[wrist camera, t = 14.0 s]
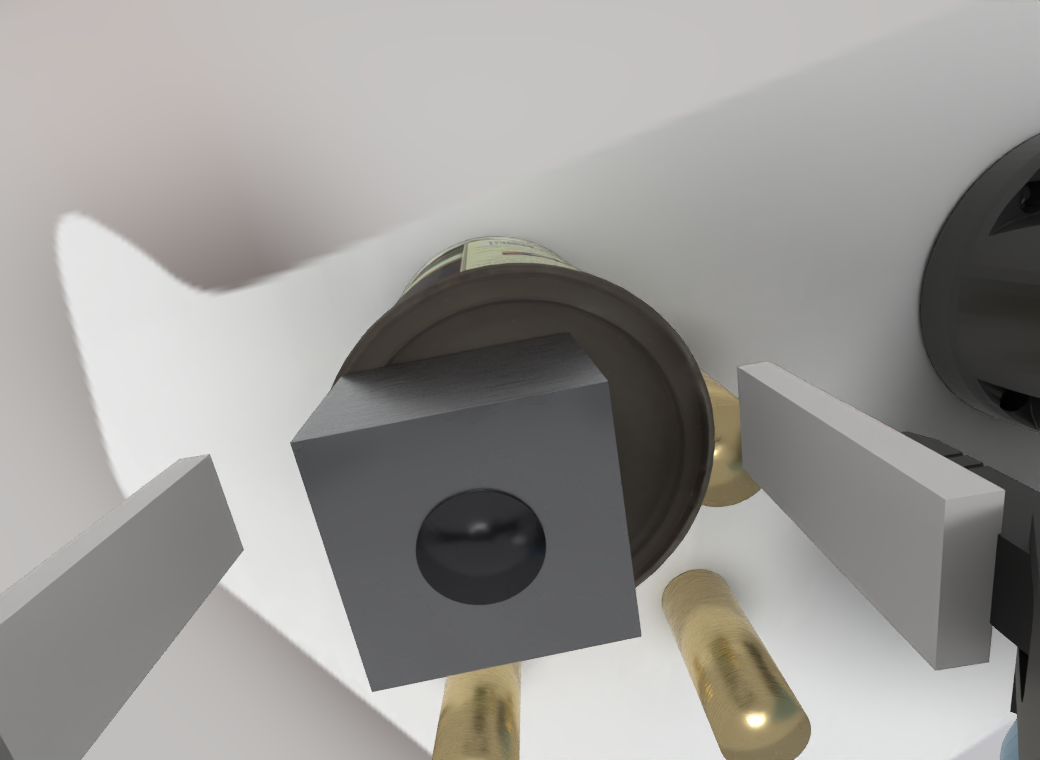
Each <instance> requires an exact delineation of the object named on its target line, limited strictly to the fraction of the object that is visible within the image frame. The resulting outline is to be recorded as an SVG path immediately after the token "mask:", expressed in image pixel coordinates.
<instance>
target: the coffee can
mask: <svg viewBox="0 0 1040 760" xmlns="http://www.w3.org/2000/svg"><path fill="white" fill-rule="evenodd" d="M566 332H569V333H570V334H571V335H572V336H573V338H574V339H575V340H576V341H577V343H578V344H579V345H580V346H581V348H582V349H583V350H584V351H585V353H586V354H587V355H588V357H589V358H590V359H591V360H592V362H593V363H594V364H595V365H596V367H597V368H598V369H599V370H600V372H601V373H602V374H603V376H604V377H605V378H606V379H607V381H608V384H609V392H610V399H611V407H612V415H613V422H614V430H615V437H616V445H617V453H618V460H619V468H620V476H621V483H622V491H623V499H624V506H625V514H626V521H627V529H628V537H629V544H630V552H631V560H632V567H633V575H634V583H635V588H636V587H637V586H638V585H639V584H641V583H642V582H643V581H645V580H646V579H647V578H648V577H649V576H650V575H652V574H653V573H654V572H655V571H656V570H657V569H658V568H659V567H660V566H661V565H662V564H663V563H664V562H665V561H666V559H667V558H668V557H669V556H670V555H671V554H672V553H673V552H674V550H675V549H676V548H677V546H678V545H679V544H680V543H681V541H682V540H683V539H684V537H685V535H686V534H687V532H688V531H689V529H690V527H691V525H692V523H693V522H694V520H695V518H696V516H697V514H698V512H699V509H700V507H701V505H702V502H703V500H704V497H705V495H706V491H707V488H708V485H709V481H710V476H711V472H712V467H713V459H714V450H715V439H714V438H715V426H714V417H713V409H712V404H711V400H710V396H709V392H708V389H707V386H706V383H705V380H704V378H703V376H702V373H701V371H700V369H699V367H698V365H697V363H696V361H695V359H694V357H693V355H692V354H691V352H690V350H689V349H688V347H687V346H686V344H685V343H684V341H683V340H682V339H681V337H680V336H679V334H678V333H677V332H676V331H675V330H674V329H673V328H672V327H671V325H670V324H669V323H668V322H667V321H666V320H665V319H664V318H662V317H661V316H660V315H659V314H658V313H657V312H656V311H655V310H654V309H653V308H652V307H650V306H649V305H648V304H646V303H645V302H643V301H642V300H641V299H639V298H638V297H636V296H634V295H633V294H631V293H630V292H628V291H626V290H625V289H623V288H621V287H619V286H617V285H615V284H613V283H611V282H608V281H606V280H604V279H601V278H599V277H596V276H593V275H591V274H588V273H584V272H581V271H579V270H578V269H576V268H574V267H572V266H571V265H569V264H567V263H566V262H565V261H563V260H562V259H561V258H560V257H559V256H557V255H556V254H554V253H553V252H551V251H550V250H548V249H545V248H543V247H541V246H539V245H537V244H534V243H532V242H528V241H525V240H522V239H517V238H511V237H482V238H476V239H471V240H466V241H463V242H461V243H458V244H456V245H454V246H451V247H449V248H447V249H446V250H444V251H442V252H441V253H439V254H438V255H436V256H435V257H433V258H432V259H431V260H430V261H428V262H427V263H426V264H425V265H424V266H423V267H422V268H421V269H420V270H419V271H418V272H417V274H416V275H415V276H414V277H413V278H412V280H411V281H410V283H409V284H408V286H407V287H406V289H405V291H404V293H403V295H402V296H401V297H400V299H399V300H398V302H397V303H396V304H395V305H394V307H392V308H391V309H390V310H389V311H387V312H386V313H385V314H384V315H383V316H382V317H381V318H380V319H379V320H377V321H376V322H375V323H374V324H373V325H372V326H371V327H370V328H369V329H368V330H367V332H366V333H365V334H364V335H363V336H362V337H361V339H360V340H359V342H358V343H357V344H356V346H355V347H354V348H353V350H352V351H351V353H350V354H349V356H348V357H347V358H346V360H345V362H344V363H343V365H342V367H341V369H340V371H339V373H338V375H337V377H336V379H335V381H334V383H333V386H334V385H335V384H336V383H337V381H338V380H339V379H340V377H341V376H342V375H345V374H350V373H356V372H361V371H366V370H371V369H377V368H382V367H387V366H393V365H398V364H403V363H408V362H414V361H419V360H424V359H429V358H435V357H440V356H445V355H451V354H456V353H461V352H466V351H472V350H477V349H482V348H487V347H493V346H498V345H503V344H509V343H514V342H519V341H524V340H530V339H535V338H540V337H545V336H551V335H556V334H561V333H566ZM333 386H332V388H333ZM332 388H331V389H332Z"/></svg>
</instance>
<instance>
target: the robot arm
mask: <svg viewBox="0 0 1040 760" xmlns="http://www.w3.org/2000/svg"><path fill="white" fill-rule="evenodd" d="M921 325H922V332H923V338H924V342H925V346H926V349H927V352H928V355H929V358H930V360H931V362H932V364H933V366H934V368H935V370H936V372H937V373H938V375H939V376H940V378H941V379H942V381H943V382H944V383H945V384H946V386H947V387H948V388H949V389H950V390H951V391H952V392H953V393H954V394H955V395H956V396H957V397H959V398H960V399H961V400H962V401H964V402H965V403H967V404H968V405H970V406H972V407H973V408H975V409H977V410H979V411H981V412H984V413H986V414H988V415H991V416H993V417H996V418H998V419H1001V420H1003V421H1006V422H1008V423H1011V424H1013V425H1016V426H1018V427H1021V428H1024V429H1028V430H1032V431H1036V432H1040V134H1038V135H1037V136H1035V137H1033V138H1031V139H1029V140H1028V141H1026V142H1024V143H1023V144H1021V145H1019V146H1018V147H1016V148H1015V149H1014V150H1012V151H1011V152H1009V153H1008V154H1007V155H1005V156H1004V157H1003V158H1001V159H1000V160H999V161H998V162H996V163H995V164H994V165H993V166H992V167H991V168H990V169H989V170H988V171H986V172H985V173H984V174H983V175H982V176H981V177H980V179H979V180H978V181H977V182H976V183H975V184H974V185H973V186H972V187H971V188H970V190H969V191H968V192H967V193H966V194H965V196H964V197H963V198H962V200H961V201H960V202H959V204H958V205H957V206H956V208H955V209H954V211H953V212H952V214H951V215H950V217H949V219H948V220H947V222H946V224H945V226H944V227H943V229H942V231H941V233H940V235H939V237H938V239H937V242H936V244H935V246H934V249H933V251H932V254H931V257H930V259H929V263H928V266H927V270H926V274H925V278H924V282H923V289H922V297H921ZM737 373H738V391H739V409H740V427H741V445H742V464H743V469H744V470H745V471H746V472H747V473H748V474H749V475H750V476H751V478H752V479H753V480H754V481H755V482H756V483H757V484H758V485H759V486H760V487H761V488H762V489H763V490H764V491H765V492H766V493H767V494H768V495H769V496H770V497H771V499H772V500H773V501H774V502H775V503H776V504H777V505H778V506H779V507H780V508H781V509H782V510H783V511H784V512H785V513H786V514H787V515H788V516H789V517H790V518H791V520H792V521H793V522H794V523H795V524H796V525H797V526H798V527H799V528H800V529H801V530H802V531H803V532H804V533H805V534H806V535H807V536H808V537H809V538H810V539H811V541H812V542H813V543H814V544H815V545H816V546H817V547H818V548H819V549H820V550H821V551H822V552H823V553H824V554H825V555H826V556H827V557H828V558H829V559H830V560H831V562H832V563H833V564H834V565H835V566H836V567H837V568H838V569H839V570H840V571H841V572H842V573H843V574H844V575H845V576H846V577H847V578H848V579H849V580H850V581H851V583H852V584H853V585H854V586H855V587H856V588H857V589H858V590H859V591H860V592H861V593H862V594H863V595H864V596H865V597H866V598H867V599H868V600H869V601H870V602H871V604H872V605H873V606H874V607H875V608H876V609H877V610H878V611H879V612H880V613H881V614H882V615H883V616H884V617H885V618H886V619H887V620H888V621H889V622H890V623H891V625H892V626H893V627H894V628H895V629H896V630H897V631H898V632H899V633H900V634H901V635H902V636H903V637H904V638H905V639H906V640H907V641H908V642H909V643H910V644H911V646H912V647H913V648H914V649H915V650H916V651H917V652H918V653H919V654H920V655H921V656H922V657H923V658H924V659H925V660H926V661H927V662H928V663H929V664H930V665H931V667H932V668H933V669H934V670H942V669H948V668H954V667H961V666H967V665H974V664H980V663H986V662H989V657H990V646H991V635H992V626H994V627H995V628H996V629H997V630H998V631H999V632H1001V633H1002V634H1003V635H1004V636H1005V637H1007V638H1008V639H1009V640H1010V641H1011V642H1013V643H1014V644H1015V645H1016V646H1017V647H1018V648H1017V656H1016V665H1015V674H1014V683H1013V692H1012V701H1011V710H1010V712H1013V713H1016V714H1017V719H1016V721H1015V722H1014V724H1013V725H1012V727H1011V728H1010V729H1009V731H1008V733H1007V734H1006V736H1005V739H1004V741H1003V743H1002V747H1001V753H1000V760H1040V493H1039V492H1038V491H1036V490H1034V489H1032V488H1030V487H1028V486H1026V485H1024V484H1022V483H1020V482H1018V481H1016V480H1014V479H1012V478H1010V477H1008V476H1006V475H1005V474H1003V473H1001V472H999V471H997V470H995V469H993V468H991V467H989V466H985V467H984V466H983V463H981V462H979V461H977V460H975V459H973V458H972V457H970V456H968V455H966V456H963V454H962V452H960V451H958V450H956V449H954V448H952V447H950V446H948V445H946V444H944V443H942V442H940V441H938V440H935V439H932V438H928V437H925V436H921V435H917V434H914V433H910V432H907V431H906V432H898V431H896V430H894V429H892V428H890V427H889V426H887V425H885V424H883V423H881V422H879V421H878V420H876V419H874V418H872V417H870V416H868V415H867V414H865V413H863V412H861V411H859V410H857V409H856V408H854V407H852V406H850V405H848V404H846V403H845V402H843V401H841V400H839V399H837V398H835V397H834V396H832V395H830V394H828V393H826V392H824V391H823V390H821V389H819V388H817V387H815V386H813V385H812V384H810V383H808V382H806V381H804V380H802V379H801V378H799V377H797V376H795V375H793V374H791V373H790V372H788V371H786V370H784V369H782V368H780V367H778V366H777V365H775V364H773V363H771V362H769V361H766V362H760V363H754V364H748V365H742V366H737ZM243 550H244V549H243V546H242V544H241V541H240V538H239V535H238V532H237V529H236V527H235V524H234V521H233V518H232V515H231V512H230V510H229V507H228V504H227V501H226V498H225V496H224V493H223V490H222V487H221V484H220V481H219V479H218V476H217V473H216V470H215V467H214V464H213V462H212V459H211V456H210V454H208V455H202V456H196V457H190V458H184V459H179V460H178V461H177V462H175V463H174V464H173V465H171V466H170V467H169V468H167V469H166V470H165V471H163V472H162V473H161V474H159V475H158V476H157V477H155V478H154V479H153V480H151V481H150V482H149V483H147V484H146V485H145V486H143V487H142V488H141V489H139V490H138V491H137V492H135V493H134V494H133V495H131V496H130V497H129V498H127V499H126V500H125V501H124V502H122V503H121V504H119V505H118V506H117V507H115V508H114V509H113V510H111V511H110V512H109V513H107V514H106V515H105V516H103V517H102V518H101V519H99V520H98V521H97V522H95V523H94V524H93V525H92V526H90V527H89V528H88V529H86V530H85V531H84V532H82V533H81V534H80V535H78V536H77V537H76V538H74V539H73V540H72V541H70V542H69V543H68V544H66V545H65V546H64V547H62V548H61V549H60V550H58V551H57V552H56V553H54V554H53V555H52V556H50V557H49V558H48V559H46V560H45V561H44V562H42V563H41V564H40V565H38V566H37V567H36V568H34V569H33V570H32V571H30V572H29V573H28V574H27V575H25V576H24V577H22V578H21V579H20V580H19V581H17V582H16V583H14V584H13V585H12V586H11V587H9V588H8V589H7V590H5V591H4V592H3V593H1V594H0V760H81V759H82V758H83V757H84V755H85V754H86V753H87V751H88V750H89V749H90V747H91V746H92V745H93V744H94V742H95V741H96V740H97V739H98V737H99V736H100V735H101V733H102V732H103V731H104V729H105V728H106V727H107V726H108V724H109V723H110V722H111V720H112V719H113V718H114V717H115V715H116V714H117V713H118V711H119V710H120V709H121V707H122V706H123V705H124V704H125V702H126V701H127V700H128V699H129V697H130V696H131V695H132V693H133V692H134V691H135V690H136V688H137V687H138V686H139V684H140V683H141V682H142V680H143V679H144V678H145V677H146V675H147V674H148V673H149V671H150V670H151V669H152V668H153V666H154V665H155V664H156V662H157V661H158V660H159V659H160V657H161V656H162V655H163V653H164V652H165V651H166V650H167V648H168V647H169V646H170V644H171V643H172V642H173V641H174V639H175V638H176V637H177V635H178V634H179V633H180V631H181V630H182V629H183V628H184V626H185V625H186V623H187V622H188V621H189V620H190V619H191V617H192V616H193V614H194V613H195V612H196V611H197V610H198V608H199V607H200V606H201V604H202V603H203V602H204V601H205V599H206V598H207V597H208V595H209V594H210V593H211V591H212V590H213V589H214V588H215V586H216V585H217V584H218V582H219V581H220V580H221V579H222V577H223V576H224V575H225V573H226V572H227V571H228V570H229V568H230V567H231V566H232V564H233V563H234V562H235V561H236V559H237V558H238V557H239V555H240V554H241V553H242V551H243Z"/></svg>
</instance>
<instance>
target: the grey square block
mask: <svg viewBox="0 0 1040 760" xmlns="http://www.w3.org/2000/svg"><path fill="white" fill-rule="evenodd" d="M290 443H291V446H292V450H293V453H294V456H295V459H296V462H297V465H298V468H299V471H300V474H301V477H302V480H303V483H304V486H305V489H306V492H307V495H308V498H309V501H310V504H311V507H312V510H313V513H314V516H315V519H316V523H317V526H318V529H319V532H320V535H321V538H322V541H323V544H324V547H325V550H326V553H327V556H328V559H329V562H330V565H331V568H332V571H333V574H334V577H335V580H336V583H337V586H338V589H339V593H340V596H341V599H342V602H343V605H344V608H345V611H346V614H347V617H348V620H349V623H350V626H351V629H352V632H353V635H354V638H355V641H356V644H357V647H358V650H359V653H360V656H361V659H362V662H363V666H364V669H365V672H366V675H367V678H368V681H369V684H370V687H371V690H372V692H374V691H379V690H384V689H389V688H394V687H398V686H403V685H408V684H413V683H418V682H423V681H428V680H432V679H437V678H442V677H447V676H452V675H457V674H461V673H466V672H471V671H476V670H481V669H486V668H491V667H495V666H500V665H505V664H510V663H515V662H520V661H524V660H529V659H534V658H539V657H544V656H549V655H554V654H558V653H563V652H568V651H573V650H578V649H583V648H587V647H592V646H597V645H602V644H607V643H612V642H617V641H621V640H626V639H631V638H636V637H641V628H640V621H639V613H638V605H637V598H636V590H635V583H634V575H633V567H632V560H631V552H630V544H629V537H628V529H627V521H626V514H625V506H624V499H623V491H622V483H621V476H620V468H619V460H618V453H617V445H616V437H615V430H614V422H613V415H612V407H611V399H610V392H609V384H608V381H607V379H606V378H605V377H604V376H603V374H602V373H601V372H600V370H599V369H598V368H597V367H596V365H595V364H594V363H593V362H592V360H591V359H590V358H589V357H588V355H587V354H586V353H585V351H584V350H583V349H582V348H581V346H580V345H579V344H578V343H577V341H576V340H575V339H574V338H573V336H572V335H571V334H570V333H569V332H566V333H561V334H556V335H551V336H545V337H540V338H535V339H530V340H524V341H519V342H514V343H509V344H503V345H498V346H493V347H487V348H482V349H477V350H472V351H466V352H461V353H456V354H451V355H445V356H440V357H435V358H429V359H424V360H419V361H414V362H408V363H403V364H398V365H393V366H387V367H382V368H377V369H371V370H366V371H361V372H356V373H350V374H345V375H342V376H341V377H340V379H339V380H338V381H337V383H336V384H335V385H334V386H333V388H332V389H331V390H330V392H329V393H328V394H327V396H326V397H325V398H324V399H323V401H322V402H321V403H320V405H319V406H318V407H317V409H316V410H315V411H314V412H313V414H312V415H311V416H310V418H309V419H308V420H307V422H306V423H305V424H304V425H303V427H302V428H301V429H300V431H299V432H298V433H297V435H296V436H295V437H294V438H293V440H292V441H291V442H290Z"/></svg>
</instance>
